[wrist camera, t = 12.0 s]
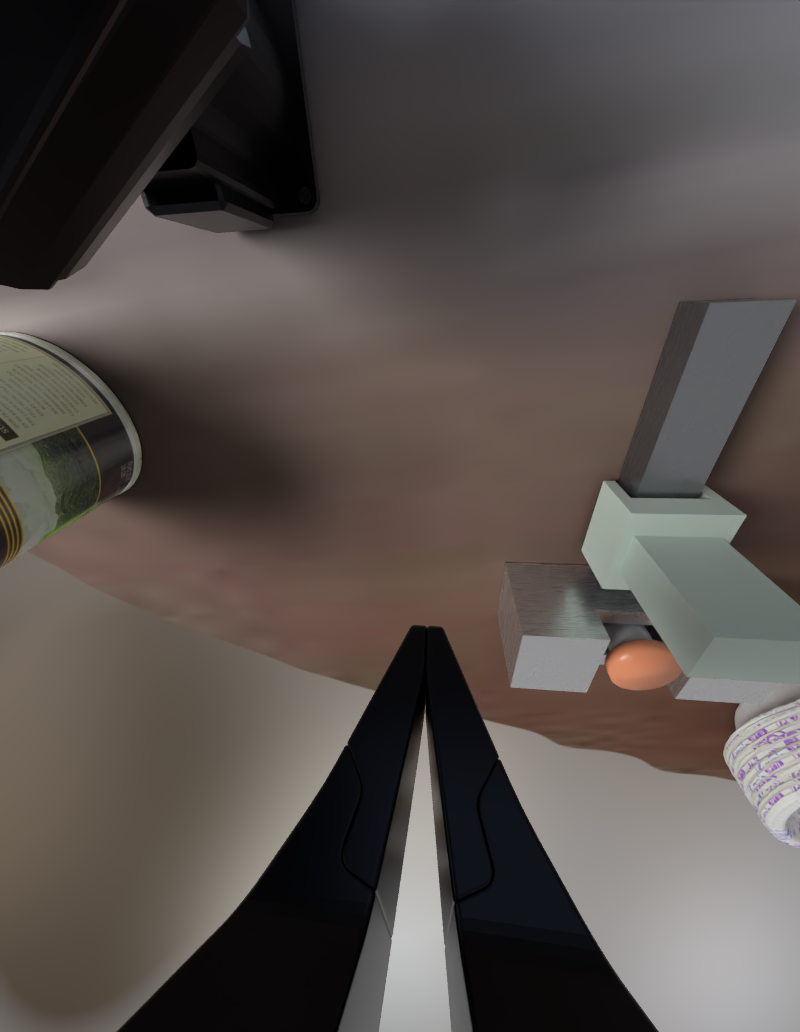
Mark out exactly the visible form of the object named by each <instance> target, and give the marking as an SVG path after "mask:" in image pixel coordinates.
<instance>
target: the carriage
mask: <svg viewBox="0 0 800 1032" xmlns="http://www.w3.org/2000/svg"><path fill="white" fill-rule="evenodd" d="M746 516H747V515H746V514H744V513H743V512H742V511H740V510H739V509H738V508H736V507H735V506H733V505H732V504H731V503H729V502H728V501H727V500H725V499H724V498H722V497H721V496H720V495H718V494H717V493H716V492H714V491H713V490H711V489H710V488H709V487H707V486H706V485H704V487H703V489H702V491H701V493H700V495H699V497H698V499H680V498H630V497H629V496H628V495H627V494H626V492H625V491H624V490H623V489H622V488H621V487H620V486H619V485H618V484H617V483H616V482H615V481H603V484H602V487H601V490H600V493H599V496H598V500H597V503H596V506H595V509H594V512H593V515H592V518H591V522H590V525H589V528H588V531H587V534H586V537H585V541H584V544H583V547H582V550H581V551H582V553H583V554H584V556H585V558H586V560H587V562H588V564H589V565H590V567H591V569H592V571H593V573H594V575H595V576H596V578H597V580H598V582H599V584H600V586H601V587H602V589H618V590H631V591H632V593H633V594H634V596H635V598H636V599H637V601H638V602H639V604H640V605H641V607H642V608H643V610H644V612H645V613H646V615H647V616H648V618H649V619H650V621H651V623H652V624H653V626H654V627H655V629H656V630H657V632H658V633H659V635H660V637H661V638H662V640H663V641H664V643H665V644H666V646H667V648H668V649H669V651H670V652H671V654H672V655H673V657H674V658H675V660H676V662H677V663H678V665H679V666H680V668H681V669H682V671H683V673H684V674H685V676H686V677H694V678H710V679H726V680H742V681H757V682H773V683H789V684H800V605H799V604H797V603H796V602H795V601H794V600H793V599H792V598H791V597H789V596H788V595H787V594H786V593H785V592H784V591H783V590H781V589H780V588H779V587H778V586H777V585H776V584H775V583H773V582H772V581H771V580H770V579H769V578H768V577H766V576H765V575H764V574H763V573H762V572H761V571H760V570H758V569H757V568H756V567H755V566H754V565H753V564H752V563H750V562H749V561H748V560H747V559H746V558H745V557H744V556H742V555H741V554H740V553H739V552H738V551H737V550H735V549H734V548H733V547H732V546H731V545H730V542H731V541H732V539H733V538H734V536H735V534H736V533H737V531H738V529H739V528H740V526H741V524H742V523H743V521H744V520H745V518H746Z"/></svg>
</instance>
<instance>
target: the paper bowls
mask: <svg viewBox="0 0 800 1032" xmlns="http://www.w3.org/2000/svg"><path fill="white" fill-rule="evenodd" d="M735 727H736V731H735V732H734V733H733V734H732V735H731V736H730V738H729V740H728V741H727V743H726V745H725V748H724V752H723V753H724V754H723V755H724V758H725V762H726V764H727V765H728V767H729V769H730V771H731V773H732V774H733V776H734V777H735V779H736V780H737V782H738V784H739V786H740V787H741V789H742V790H743V792H744V794H745V795H746V797H747V798H748V799H749V801H750V803H751V804H752V805H753V807H754V809H755V810H756V812H757V814H758V815H759V816H760V818H761V820H762V823H763V824H764V826H765V827H766V828H767V829H768V830H769V831H770V832H771V833H772V834H773V835H774V836H775V837H776V838H778V839H779V840H781V841H783V842H784V843H786V844H789V845H791V846H794V847H797V848H800V684H789V683H780V684H779V685H778V686H777V687H776V688H775V689H774V690H773V691H772V692H771V693H770V694H769V695H768V696H767V697H766V698H765V699H764V700H763V701H762V702H761V703H760V704H759V705H758V704H744V703H740V704H739V706H738V707H737V710H736V712H735Z"/></svg>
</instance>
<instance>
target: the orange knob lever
mask: <svg viewBox="0 0 800 1032" xmlns="http://www.w3.org/2000/svg"><path fill="white" fill-rule="evenodd" d="M602 624H603V626H604V628H605V630H606V632H607V634H608V636H609V638H610V642H609V645H608V648H609V650H610V652H609V653H608V654H607V656H606V657H605V661H604V664H605V667H606V669H607V672H608V674H609V676H610V678H611V680H612V682H613V683H614V684H616V685H617V686H619V687H621V688H624V689H629V690H650V689H655V688H659V687H662V686H664V685H667V684H669V683H671V682H672V681H674V680H675V679H676V678H677V677H678V676H679V675H680V674H681V672H682V669H681V668H680V666H679V665H678V663H677V662H676V660H675V658H674V657H673V655H672V654H671V652H670V651H669V649H668V648H667V646H666V644H665V643H664V642H661V641H657V640H653V639H652V637H651V636H650V634H649V633H648V631H647V629H646V628H645V626H644V625H638V624H618V623H602Z"/></svg>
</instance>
